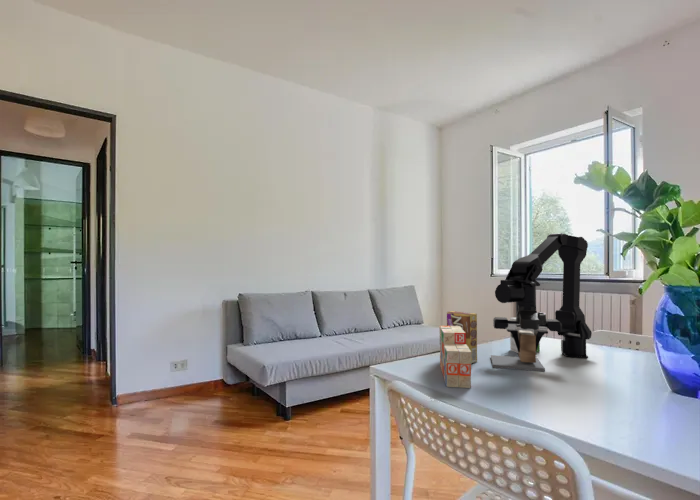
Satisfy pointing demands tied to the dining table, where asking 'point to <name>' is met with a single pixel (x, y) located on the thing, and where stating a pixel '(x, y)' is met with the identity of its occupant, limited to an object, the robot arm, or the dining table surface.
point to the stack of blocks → (455, 357)
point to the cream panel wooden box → (527, 346)
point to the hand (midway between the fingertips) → (526, 352)
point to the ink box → (512, 342)
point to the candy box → (466, 329)
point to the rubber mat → (515, 363)
